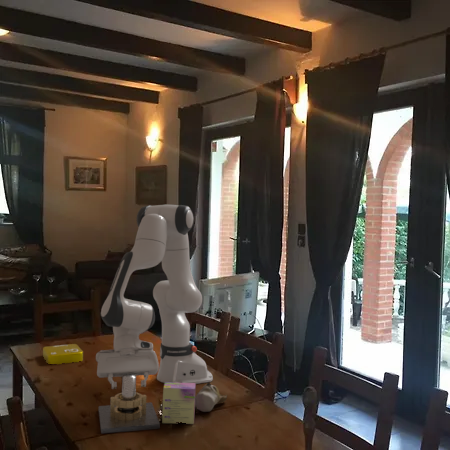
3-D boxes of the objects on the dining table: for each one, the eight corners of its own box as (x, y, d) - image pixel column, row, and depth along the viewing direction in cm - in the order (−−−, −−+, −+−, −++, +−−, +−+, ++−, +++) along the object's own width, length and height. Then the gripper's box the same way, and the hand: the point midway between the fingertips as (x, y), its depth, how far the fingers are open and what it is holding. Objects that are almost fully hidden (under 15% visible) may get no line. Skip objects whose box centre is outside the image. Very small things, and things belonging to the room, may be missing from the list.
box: (194, 417, 178) (195, 382, 178) (194, 424, 172) (195, 388, 172) (163, 416, 178) (164, 381, 177) (161, 423, 172) (162, 387, 172)
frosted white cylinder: (134, 411, 177) (135, 373, 177) (136, 417, 173) (137, 377, 172) (120, 412, 176) (121, 373, 175) (121, 418, 172) (122, 378, 171)
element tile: (75, 352, 246) (76, 342, 246) (84, 361, 233) (84, 351, 233) (42, 356, 239) (42, 345, 239) (48, 366, 226) (48, 355, 226)
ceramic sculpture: (187, 386, 182) (202, 375, 196) (186, 411, 182) (200, 399, 196) (217, 391, 179) (230, 379, 193) (215, 416, 179) (228, 403, 193)
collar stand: (151, 406, 186) (152, 385, 185) (159, 428, 168) (160, 405, 168) (98, 410, 181) (99, 388, 180) (101, 433, 164) (101, 409, 163)
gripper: (96, 345, 177) (96, 385, 168) (157, 343, 183) (161, 381, 174) (95, 355, 182) (95, 393, 173) (155, 352, 187) (158, 389, 178)
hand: (129, 387), depth 173 cm, fingers open, 8 cm apart
